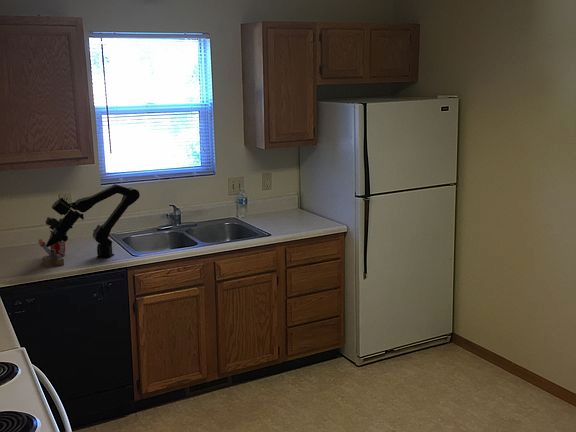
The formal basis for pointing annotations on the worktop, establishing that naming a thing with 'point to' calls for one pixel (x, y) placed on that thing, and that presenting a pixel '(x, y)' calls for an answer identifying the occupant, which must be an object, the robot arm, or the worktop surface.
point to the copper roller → (44, 247)
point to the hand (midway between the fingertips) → (46, 246)
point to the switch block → (53, 260)
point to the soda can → (59, 248)
